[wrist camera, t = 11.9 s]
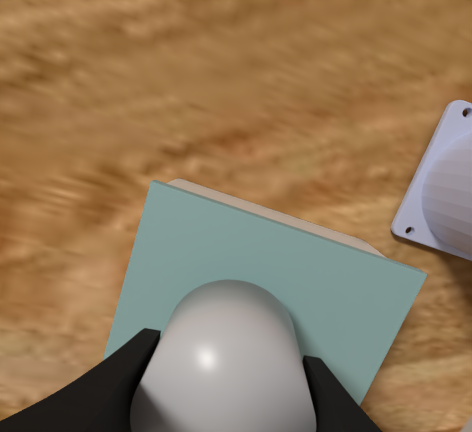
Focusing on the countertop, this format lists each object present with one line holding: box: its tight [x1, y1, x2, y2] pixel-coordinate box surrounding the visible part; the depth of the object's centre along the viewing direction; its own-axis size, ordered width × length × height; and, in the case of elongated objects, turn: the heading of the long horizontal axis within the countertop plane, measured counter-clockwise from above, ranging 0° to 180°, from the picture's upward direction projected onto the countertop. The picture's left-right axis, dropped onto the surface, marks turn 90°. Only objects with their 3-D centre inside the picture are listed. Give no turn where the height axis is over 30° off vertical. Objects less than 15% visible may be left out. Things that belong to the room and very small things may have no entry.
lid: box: [103, 180, 427, 406], centre depth 15 cm, size 12×15×1 cm
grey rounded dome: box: [130, 279, 316, 432], centre depth 10 cm, size 5×5×4 cm
